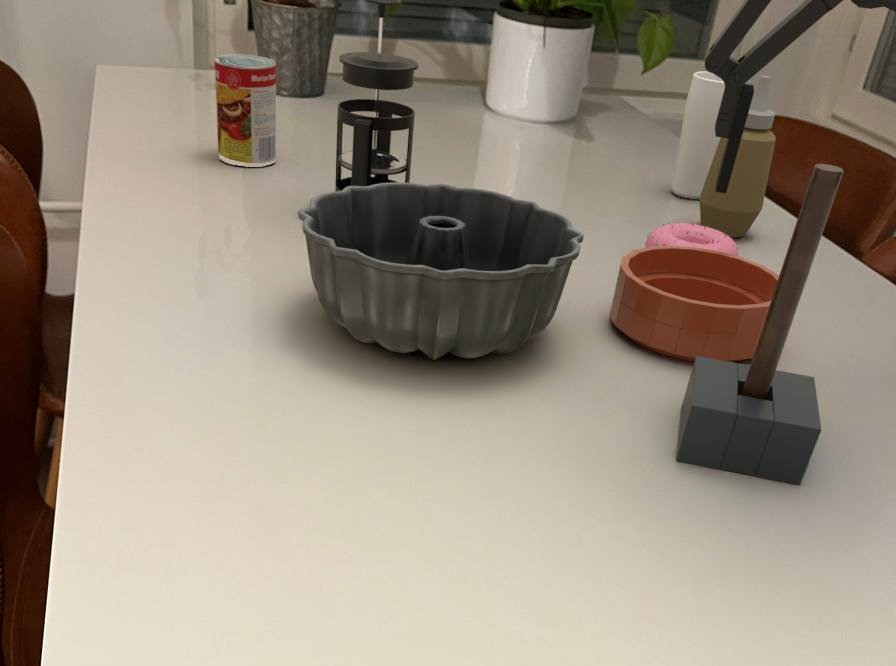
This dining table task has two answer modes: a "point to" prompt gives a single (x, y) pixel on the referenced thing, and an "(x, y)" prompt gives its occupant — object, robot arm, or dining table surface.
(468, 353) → the bundt pan
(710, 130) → the drinking glass
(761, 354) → the stick
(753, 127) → the squeeze bottle
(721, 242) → the doughnut
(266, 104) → the canned food
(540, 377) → the dining table surface
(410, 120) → the french press
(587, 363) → the dining table surface
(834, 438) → the dining table surface
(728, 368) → the holder
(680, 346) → the bowl
